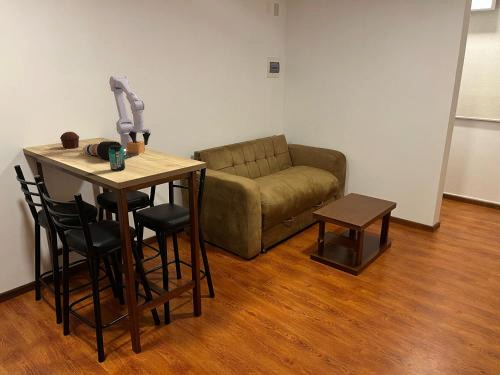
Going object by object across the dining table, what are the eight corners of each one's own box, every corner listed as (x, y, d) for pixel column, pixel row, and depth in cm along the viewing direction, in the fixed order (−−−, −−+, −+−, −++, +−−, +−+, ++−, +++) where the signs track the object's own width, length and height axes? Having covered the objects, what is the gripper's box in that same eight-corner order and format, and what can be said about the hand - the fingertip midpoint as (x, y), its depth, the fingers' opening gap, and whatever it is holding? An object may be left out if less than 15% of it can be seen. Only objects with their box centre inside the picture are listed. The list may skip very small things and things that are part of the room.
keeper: (122, 153, 235) (122, 146, 234) (138, 154, 232) (138, 147, 231) (107, 158, 222) (107, 151, 221) (124, 159, 219) (123, 152, 218)
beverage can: (126, 167, 202) (124, 144, 198) (123, 171, 195) (120, 147, 191) (113, 168, 201) (110, 144, 198) (108, 171, 195) (106, 147, 191)
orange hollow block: (134, 150, 244) (133, 140, 242) (145, 151, 241) (144, 141, 240) (127, 152, 237) (126, 143, 235) (138, 153, 235) (137, 143, 233)
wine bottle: (89, 159, 241) (94, 143, 242) (120, 162, 219) (125, 144, 220) (74, 154, 233) (78, 138, 234) (104, 156, 211) (109, 138, 212)
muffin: (60, 147, 254) (58, 131, 251) (78, 145, 260) (76, 130, 257) (63, 150, 244) (61, 134, 241) (82, 148, 250) (80, 132, 247)
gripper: (124, 122, 231) (126, 145, 235) (145, 123, 227) (147, 146, 231) (131, 120, 238) (133, 143, 242) (152, 121, 233) (153, 144, 237)
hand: (140, 144), depth 237 cm, fingers open, 7 cm apart
